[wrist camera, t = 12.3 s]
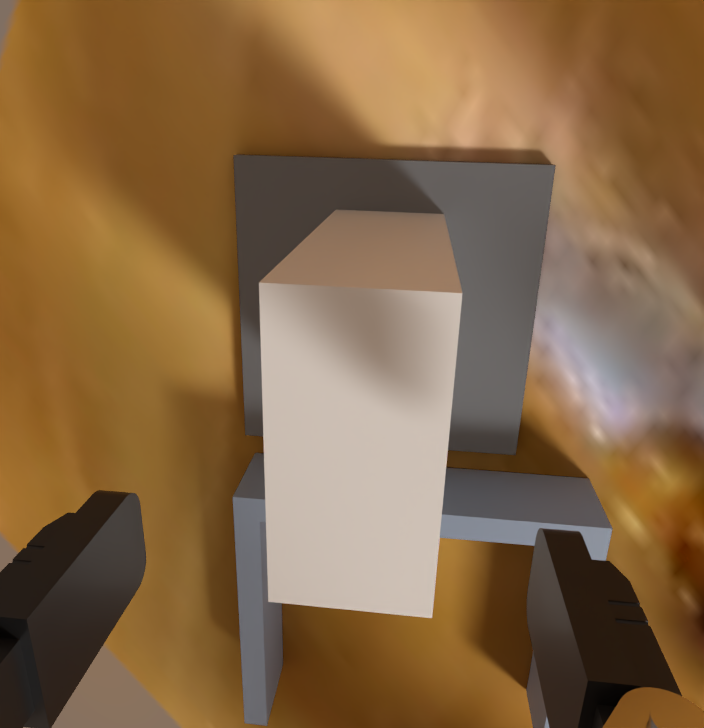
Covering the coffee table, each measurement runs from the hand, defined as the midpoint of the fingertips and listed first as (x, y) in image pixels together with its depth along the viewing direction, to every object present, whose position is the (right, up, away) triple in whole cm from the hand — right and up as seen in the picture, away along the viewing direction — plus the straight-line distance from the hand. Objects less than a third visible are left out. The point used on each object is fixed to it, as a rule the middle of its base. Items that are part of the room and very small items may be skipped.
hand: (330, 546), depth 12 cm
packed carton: (+2, +6, +15) cm, 16 cm away
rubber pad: (+2, +6, +15) cm, 17 cm away
